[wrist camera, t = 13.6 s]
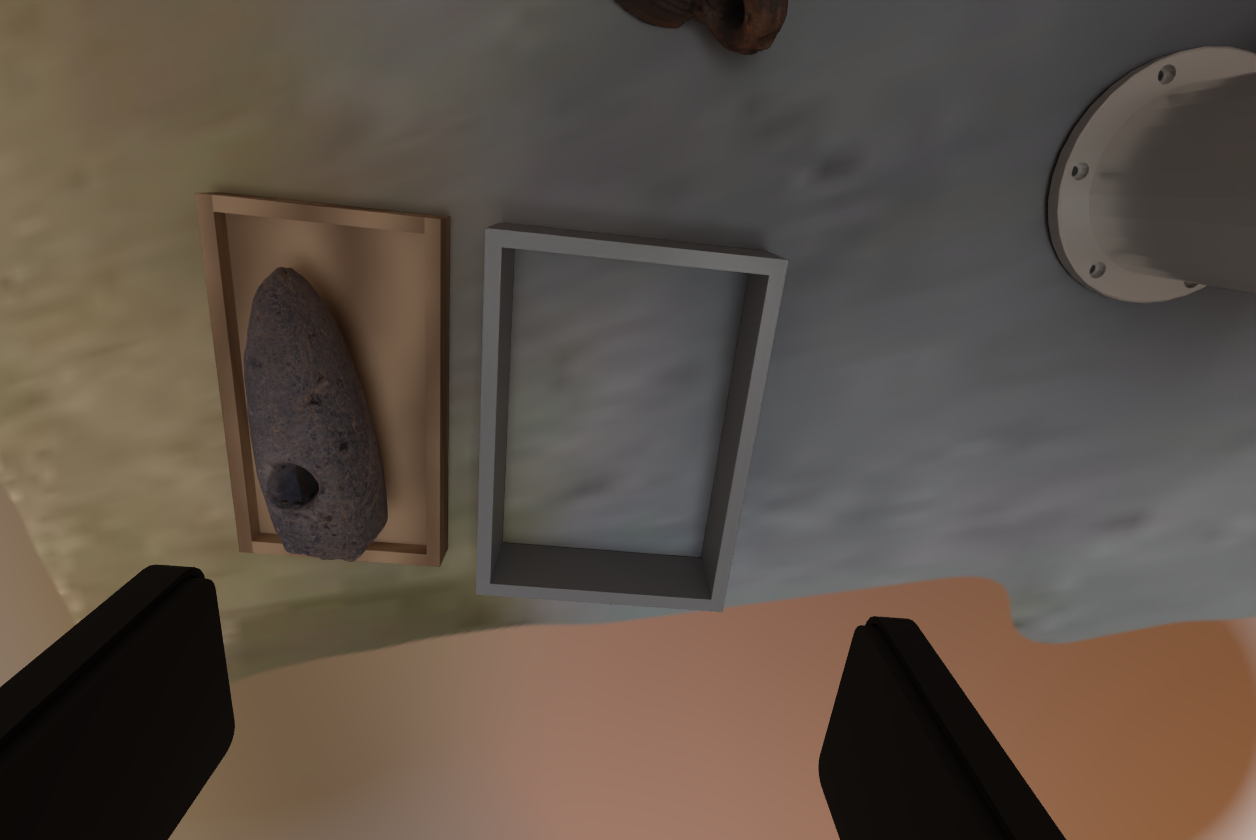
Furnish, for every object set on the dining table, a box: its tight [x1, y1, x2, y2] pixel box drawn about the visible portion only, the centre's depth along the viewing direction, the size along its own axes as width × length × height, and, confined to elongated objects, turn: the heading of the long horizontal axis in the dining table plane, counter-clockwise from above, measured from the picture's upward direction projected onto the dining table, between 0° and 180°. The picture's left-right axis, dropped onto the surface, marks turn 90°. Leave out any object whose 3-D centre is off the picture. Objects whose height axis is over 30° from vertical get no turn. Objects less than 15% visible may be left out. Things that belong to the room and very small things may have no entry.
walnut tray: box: [195, 192, 450, 567], centre depth 36 cm, size 12×21×2 cm, turn 174°
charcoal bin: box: [476, 223, 788, 612], centre depth 36 cm, size 15×21×4 cm
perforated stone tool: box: [244, 267, 388, 562], centre depth 33 cm, size 15×5×7 cm, turn 3°
